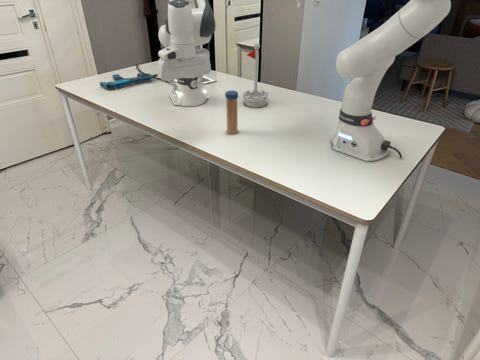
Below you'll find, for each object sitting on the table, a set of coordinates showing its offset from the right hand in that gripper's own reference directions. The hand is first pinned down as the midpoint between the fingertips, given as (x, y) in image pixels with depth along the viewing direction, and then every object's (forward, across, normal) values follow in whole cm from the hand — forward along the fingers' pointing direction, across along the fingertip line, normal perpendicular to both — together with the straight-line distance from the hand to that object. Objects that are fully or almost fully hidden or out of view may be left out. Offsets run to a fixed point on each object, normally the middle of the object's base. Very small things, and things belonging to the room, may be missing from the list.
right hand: (308, 6), depth 134 cm
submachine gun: (+48, -43, +105) cm, 123 cm away
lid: (+31, -33, +7) cm, 45 cm away
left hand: (+26, -51, +11) cm, 58 cm away
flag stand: (+48, -3, +28) cm, 56 cm away
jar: (+48, -33, +7) cm, 58 cm away
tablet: (+48, -10, +88) cm, 101 cm away
